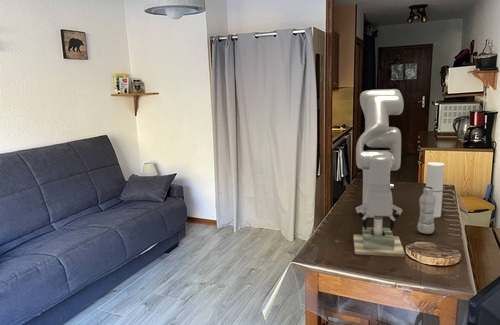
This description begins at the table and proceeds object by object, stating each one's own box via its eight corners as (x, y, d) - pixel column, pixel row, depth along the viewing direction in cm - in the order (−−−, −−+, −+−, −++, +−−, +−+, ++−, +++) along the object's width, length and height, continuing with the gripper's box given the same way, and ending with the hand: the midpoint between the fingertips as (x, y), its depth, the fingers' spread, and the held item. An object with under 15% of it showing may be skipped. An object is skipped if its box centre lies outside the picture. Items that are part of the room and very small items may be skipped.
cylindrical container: (425, 217, 178) (429, 165, 173) (422, 211, 185) (425, 162, 180) (442, 217, 177) (446, 165, 171) (438, 212, 184) (442, 162, 178)
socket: (353, 236, 161) (353, 224, 160) (398, 239, 157) (399, 226, 155) (354, 254, 146) (355, 240, 144) (404, 256, 142) (405, 242, 140)
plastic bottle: (413, 231, 163) (416, 187, 159) (425, 228, 166) (428, 184, 161) (425, 237, 157) (428, 191, 153) (437, 234, 160) (440, 188, 155)
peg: (372, 241, 153) (373, 213, 150) (381, 242, 152) (382, 213, 149) (373, 245, 150) (374, 216, 147) (382, 245, 149) (383, 216, 146)
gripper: (401, 184, 147) (399, 226, 151) (355, 184, 151) (354, 224, 155) (404, 190, 140) (402, 233, 144) (356, 189, 144) (355, 231, 148)
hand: (378, 228), depth 150 cm, fingers open, 9 cm apart
